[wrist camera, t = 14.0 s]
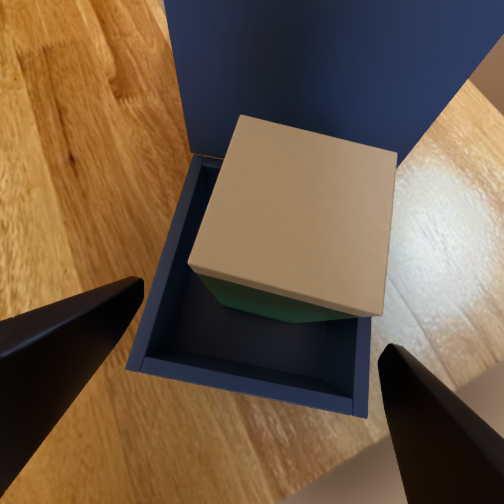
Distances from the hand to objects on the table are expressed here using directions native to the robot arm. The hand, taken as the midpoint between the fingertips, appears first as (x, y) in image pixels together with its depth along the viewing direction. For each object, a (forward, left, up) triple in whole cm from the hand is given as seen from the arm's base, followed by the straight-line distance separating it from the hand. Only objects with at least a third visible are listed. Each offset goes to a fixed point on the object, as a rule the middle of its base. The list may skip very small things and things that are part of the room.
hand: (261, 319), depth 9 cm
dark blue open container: (+3, 0, -11) cm, 11 cm away
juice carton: (+3, 0, -10) cm, 10 cm away
